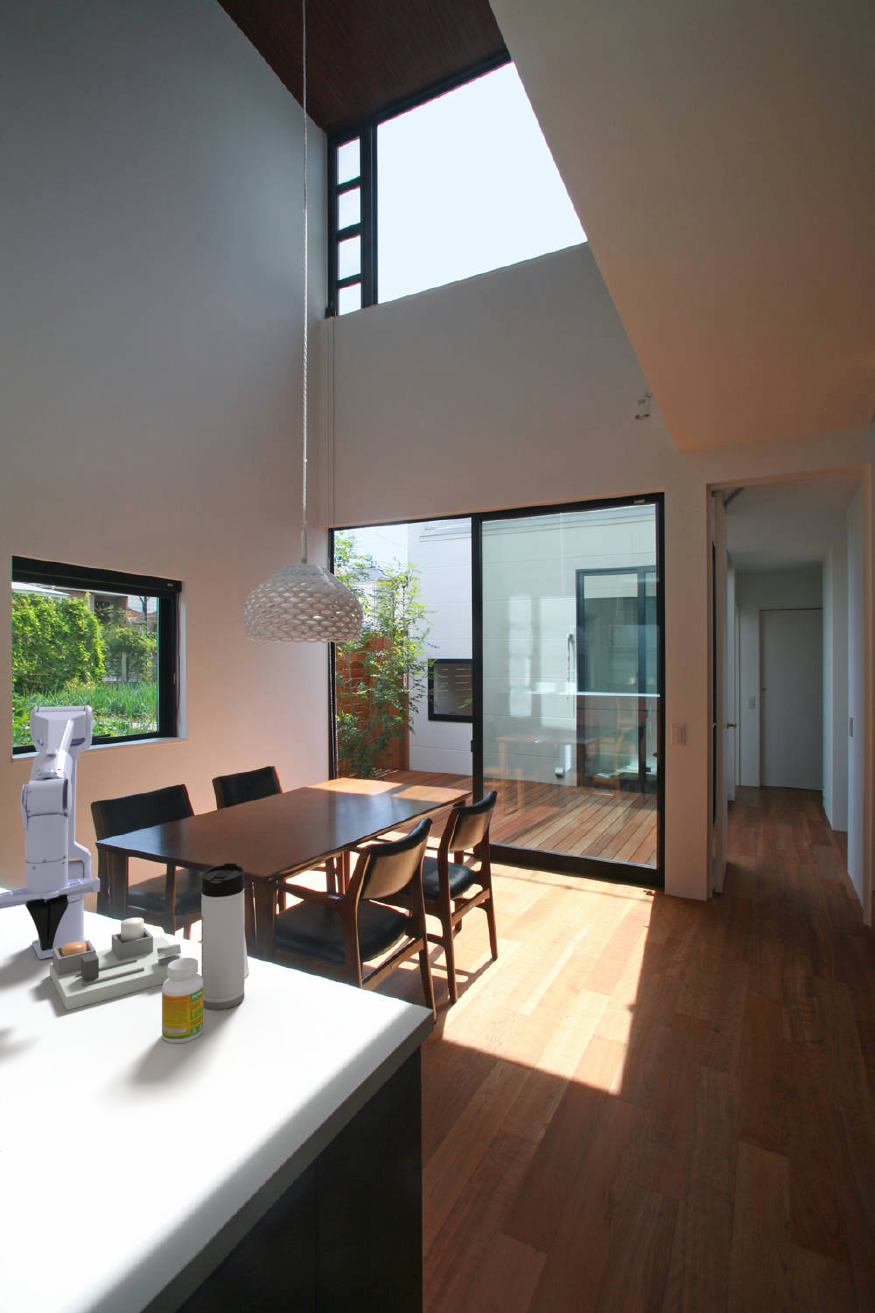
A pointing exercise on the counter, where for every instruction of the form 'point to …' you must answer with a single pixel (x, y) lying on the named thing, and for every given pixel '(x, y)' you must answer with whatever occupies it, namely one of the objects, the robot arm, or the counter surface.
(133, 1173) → the counter surface
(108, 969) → the panel
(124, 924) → the button white
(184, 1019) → the supplement bottle
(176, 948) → the rocker
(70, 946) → the button orange
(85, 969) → the slider knob
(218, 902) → the travel mug
